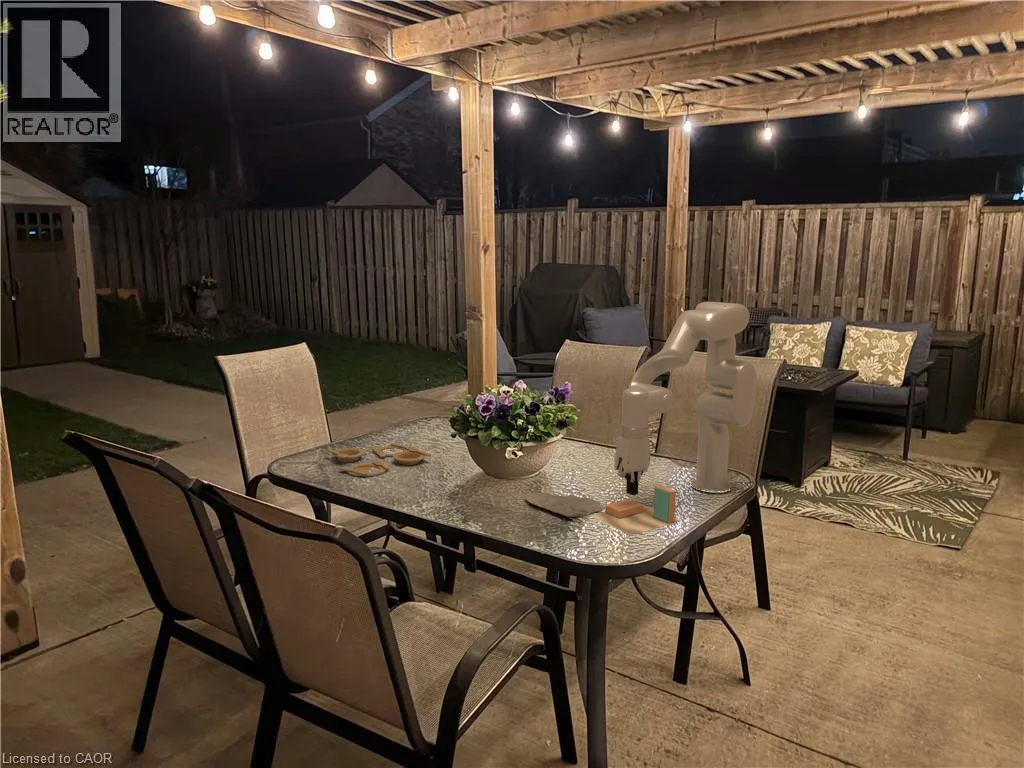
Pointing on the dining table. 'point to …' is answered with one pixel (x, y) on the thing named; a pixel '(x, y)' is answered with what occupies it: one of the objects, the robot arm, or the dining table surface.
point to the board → (634, 521)
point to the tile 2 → (664, 504)
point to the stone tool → (565, 504)
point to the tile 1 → (623, 508)
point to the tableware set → (352, 454)
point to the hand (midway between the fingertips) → (632, 493)
